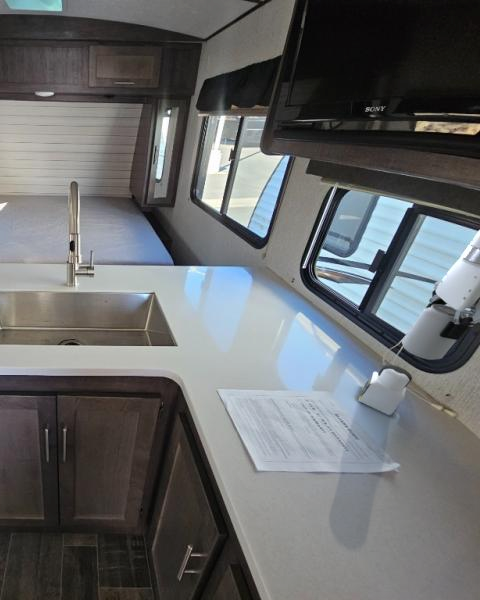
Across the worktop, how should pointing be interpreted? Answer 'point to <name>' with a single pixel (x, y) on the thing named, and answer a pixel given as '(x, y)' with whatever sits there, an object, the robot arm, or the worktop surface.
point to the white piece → (386, 388)
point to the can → (430, 333)
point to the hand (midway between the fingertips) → (438, 327)
